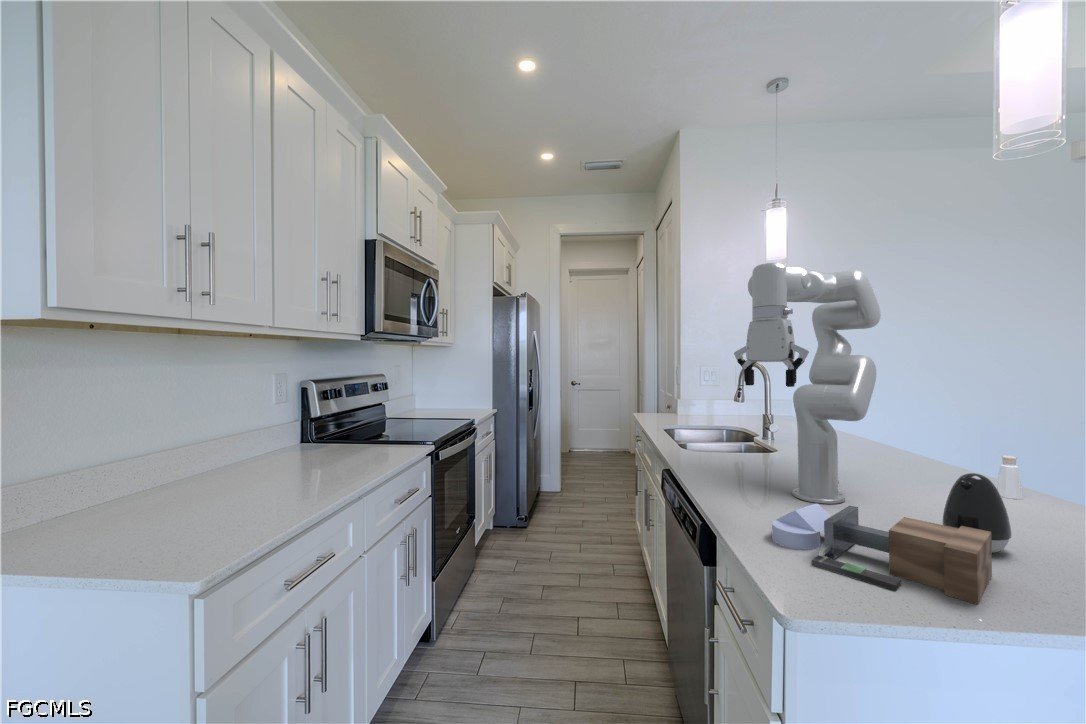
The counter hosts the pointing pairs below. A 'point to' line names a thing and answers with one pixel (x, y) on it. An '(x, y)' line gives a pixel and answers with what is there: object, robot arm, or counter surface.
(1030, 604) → the counter surface
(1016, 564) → the counter surface
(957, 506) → the black egg-shaped piece
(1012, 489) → the salt shaker
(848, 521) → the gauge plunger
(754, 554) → the counter surface
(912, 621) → the counter surface
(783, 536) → the wedge on round base
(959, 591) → the frame
